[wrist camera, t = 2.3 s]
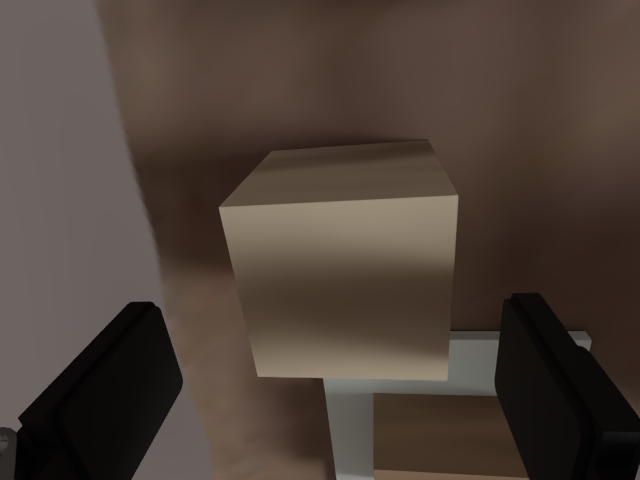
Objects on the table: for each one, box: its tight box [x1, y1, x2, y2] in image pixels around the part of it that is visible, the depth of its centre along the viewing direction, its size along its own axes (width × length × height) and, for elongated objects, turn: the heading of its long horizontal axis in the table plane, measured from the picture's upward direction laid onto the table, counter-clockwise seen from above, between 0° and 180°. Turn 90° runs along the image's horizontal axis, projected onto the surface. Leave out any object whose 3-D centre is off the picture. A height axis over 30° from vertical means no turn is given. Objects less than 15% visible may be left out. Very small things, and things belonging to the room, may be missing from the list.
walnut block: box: [373, 393, 529, 480], centre depth 19 cm, size 7×7×4 cm
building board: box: [323, 331, 592, 480], centre depth 21 cm, size 14×12×1 cm
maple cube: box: [219, 140, 458, 381], centre depth 14 cm, size 6×6×6 cm
